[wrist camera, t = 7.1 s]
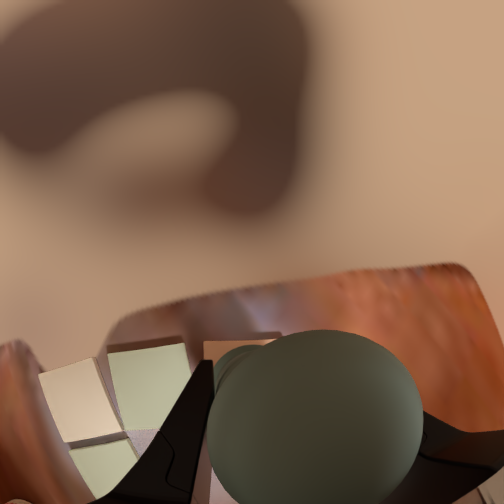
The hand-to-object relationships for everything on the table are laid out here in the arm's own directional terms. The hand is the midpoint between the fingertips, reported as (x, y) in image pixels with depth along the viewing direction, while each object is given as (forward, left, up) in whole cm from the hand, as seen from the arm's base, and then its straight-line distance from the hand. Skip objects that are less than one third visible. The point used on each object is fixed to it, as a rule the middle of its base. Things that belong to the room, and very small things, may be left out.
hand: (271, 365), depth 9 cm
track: (-9, +4, -9) cm, 14 cm away
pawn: (-1, -1, -7) cm, 7 cm away
